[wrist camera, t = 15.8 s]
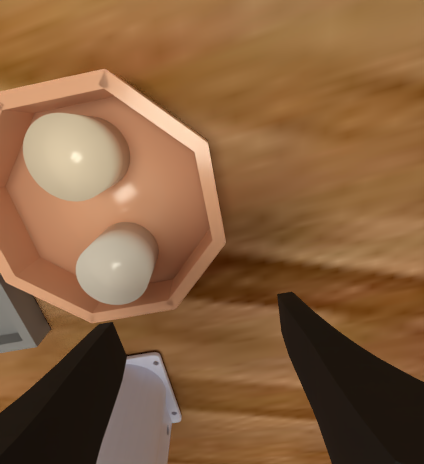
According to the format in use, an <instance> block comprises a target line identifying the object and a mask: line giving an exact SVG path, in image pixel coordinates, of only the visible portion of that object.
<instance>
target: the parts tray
mask: <svg viewBox="0 0 424 464" xmlns="http://www.w3.org/2000/svg"><path fill="white" fill-rule="evenodd" d="M50 330H51V329H50V327H49V325H48V323H47V321H46V319H45V317H44V315H43V314H42V312H41V310H40V308H39V306H38V304H37V302H36V300H35V299H34V297H33V295H31V294H29V293H27V292H25V291H23V290H20V289H18V288H16V287H14V286H12V285H10V284H8V283H6V282H5V280H4V279H3V277H2V275H1V273H0V353H3V352H9V351H15V350H21V349H28V348H34V347H37V346H38V345H39V344H40V342H41V341H42V340H43V339H44V337H45V336H46V335H47V333H48V332H49V331H50Z"/></svg>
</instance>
